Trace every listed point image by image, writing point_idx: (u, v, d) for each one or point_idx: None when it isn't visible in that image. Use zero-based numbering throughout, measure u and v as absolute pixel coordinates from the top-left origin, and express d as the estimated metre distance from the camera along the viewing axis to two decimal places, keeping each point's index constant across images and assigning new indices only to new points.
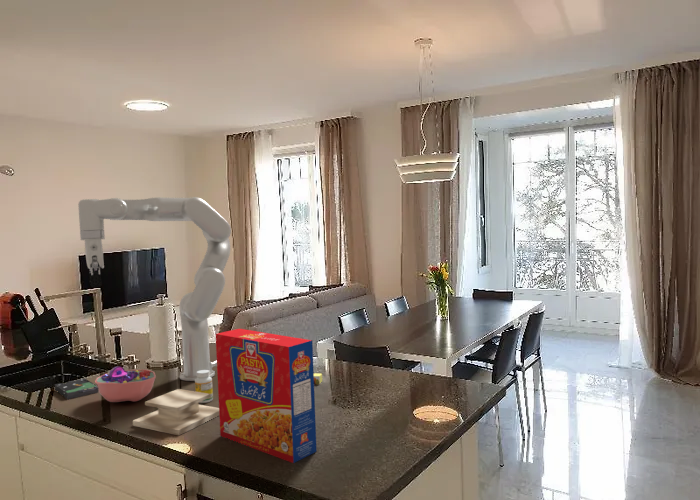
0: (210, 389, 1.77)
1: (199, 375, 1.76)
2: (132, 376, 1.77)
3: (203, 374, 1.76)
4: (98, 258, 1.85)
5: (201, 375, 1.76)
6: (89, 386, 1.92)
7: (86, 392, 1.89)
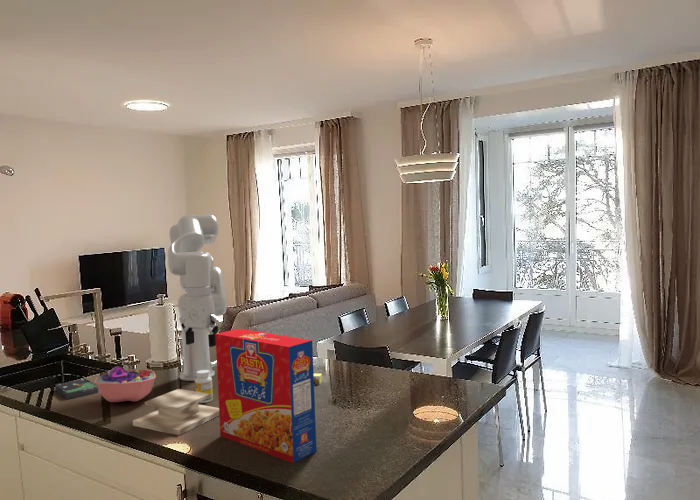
0: (210, 389, 1.77)
1: (199, 375, 1.76)
2: (132, 376, 1.77)
3: (203, 374, 1.76)
4: None
5: (201, 375, 1.76)
6: (89, 386, 1.92)
7: (85, 392, 1.89)
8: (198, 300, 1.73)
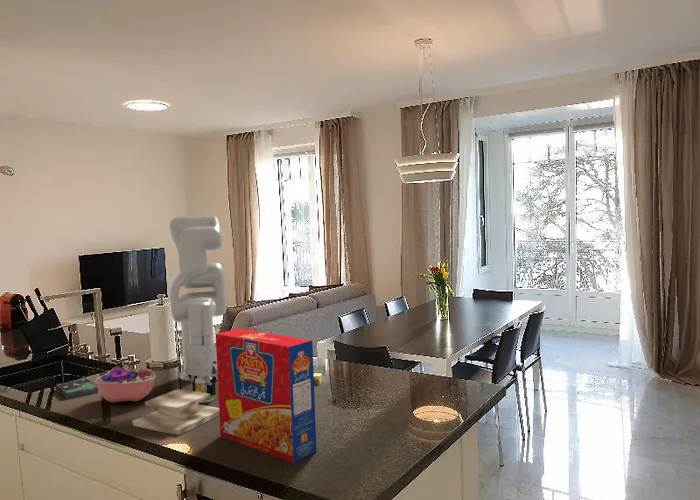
0: None
1: None
2: (132, 376, 1.77)
3: None
4: None
5: None
6: (89, 386, 1.92)
7: (85, 392, 1.89)
8: (201, 348, 1.74)
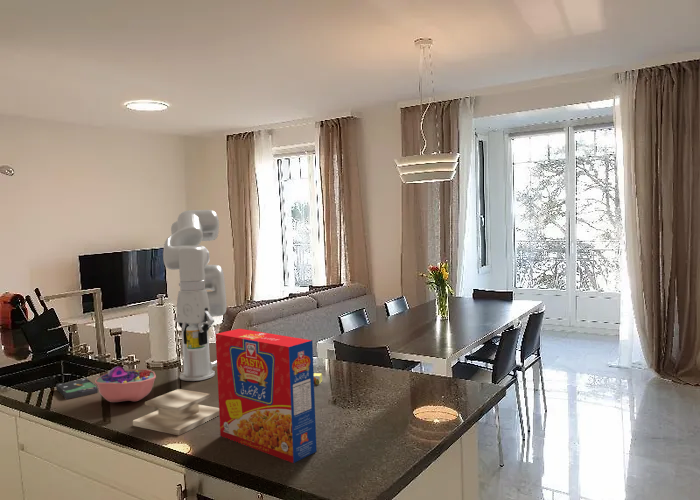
0: None
1: None
2: (132, 376, 1.77)
3: None
4: None
5: None
6: (89, 386, 1.91)
7: (85, 392, 1.88)
8: (192, 294, 1.69)
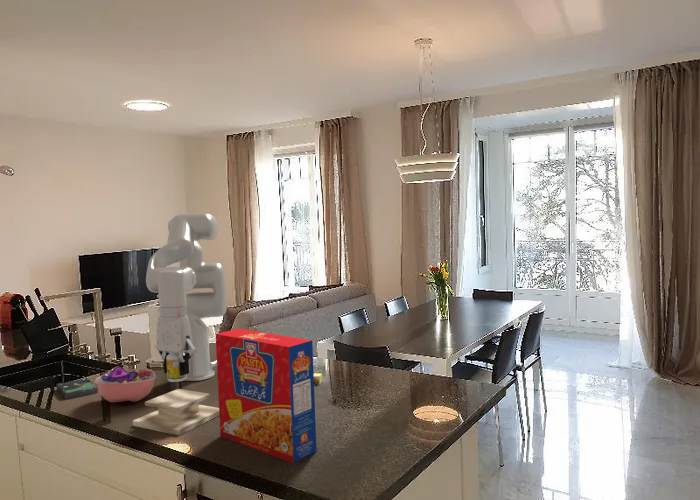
0: None
1: None
2: (132, 376, 1.77)
3: None
4: None
5: None
6: (89, 386, 1.91)
7: (84, 392, 1.88)
8: (172, 321, 1.57)
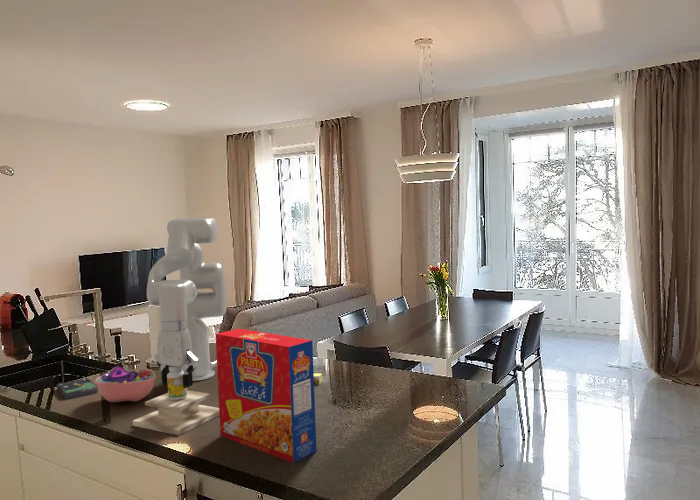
0: None
1: (172, 369, 1.60)
2: (132, 376, 1.77)
3: (176, 368, 1.60)
4: None
5: (173, 369, 1.60)
6: (89, 386, 1.91)
7: (84, 392, 1.88)
8: (173, 335, 1.57)
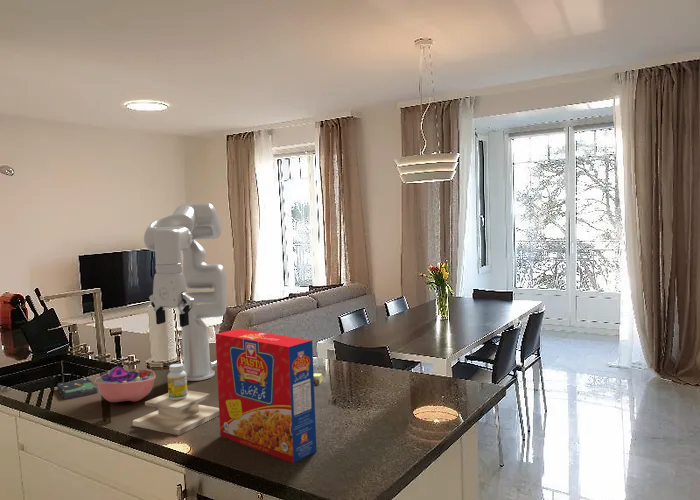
0: (184, 385, 1.61)
1: (172, 369, 1.60)
2: (132, 376, 1.77)
3: (176, 368, 1.60)
4: None
5: (174, 369, 1.60)
6: (88, 386, 1.91)
7: (84, 392, 1.88)
8: (168, 277, 1.64)
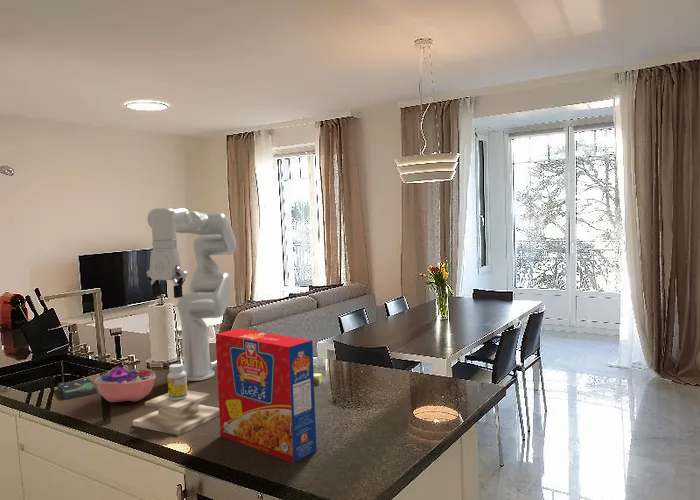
0: (184, 385, 1.61)
1: (172, 369, 1.60)
2: (132, 376, 1.77)
3: (176, 368, 1.60)
4: None
5: (174, 369, 1.60)
6: (88, 386, 1.91)
7: (84, 392, 1.88)
8: (163, 252, 1.79)
